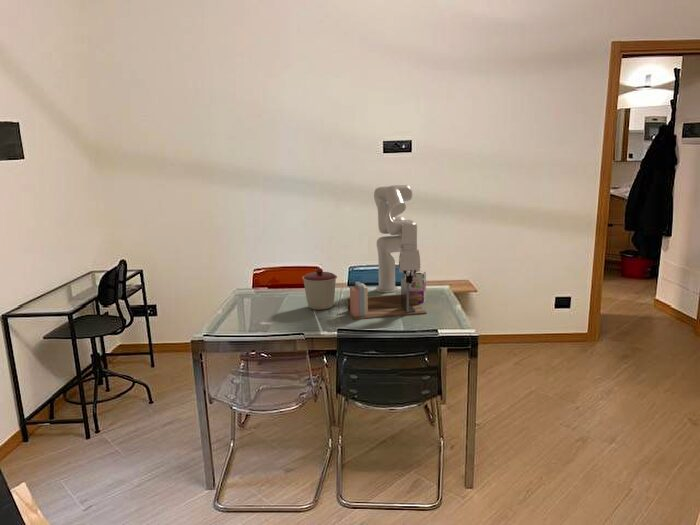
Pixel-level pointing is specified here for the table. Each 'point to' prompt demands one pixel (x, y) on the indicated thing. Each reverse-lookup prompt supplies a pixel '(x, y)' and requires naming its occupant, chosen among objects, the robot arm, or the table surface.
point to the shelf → (388, 306)
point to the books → (359, 299)
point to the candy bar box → (418, 285)
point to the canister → (320, 289)
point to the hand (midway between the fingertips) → (409, 283)
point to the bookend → (405, 296)
